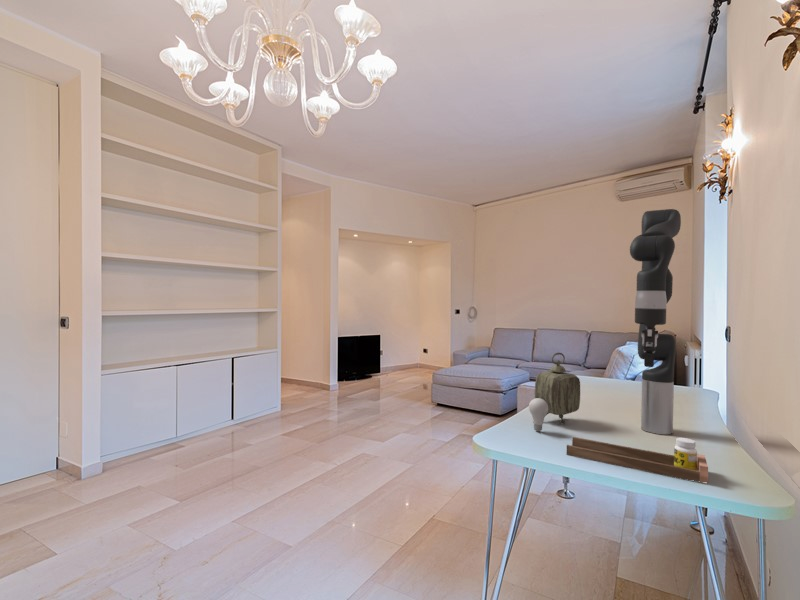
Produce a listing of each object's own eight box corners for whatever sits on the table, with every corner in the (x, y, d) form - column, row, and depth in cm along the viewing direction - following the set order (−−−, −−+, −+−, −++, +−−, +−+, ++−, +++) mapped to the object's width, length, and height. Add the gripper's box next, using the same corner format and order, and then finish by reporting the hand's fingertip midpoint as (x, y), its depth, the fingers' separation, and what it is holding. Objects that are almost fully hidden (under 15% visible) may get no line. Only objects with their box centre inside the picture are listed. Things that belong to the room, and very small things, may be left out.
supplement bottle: (669, 469, 105) (669, 436, 105) (686, 469, 105) (687, 436, 105) (683, 477, 100) (684, 443, 100) (701, 477, 100) (702, 443, 101)
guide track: (572, 445, 122) (573, 431, 122) (704, 470, 104) (704, 455, 105) (566, 454, 113) (566, 440, 113) (707, 484, 96) (708, 467, 96)
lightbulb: (549, 435, 130) (549, 401, 131) (529, 433, 132) (530, 399, 132) (546, 429, 136) (547, 397, 137) (527, 428, 138) (528, 395, 138)
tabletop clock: (560, 416, 154) (561, 350, 154) (581, 423, 146) (583, 353, 146) (533, 421, 146) (535, 352, 146) (555, 428, 138) (556, 355, 139)
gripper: (667, 308, 106) (665, 370, 106) (665, 307, 118) (664, 362, 118) (634, 307, 110) (632, 366, 110) (635, 306, 122) (634, 360, 122)
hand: (649, 364), depth 114 cm, fingers open, 8 cm apart
